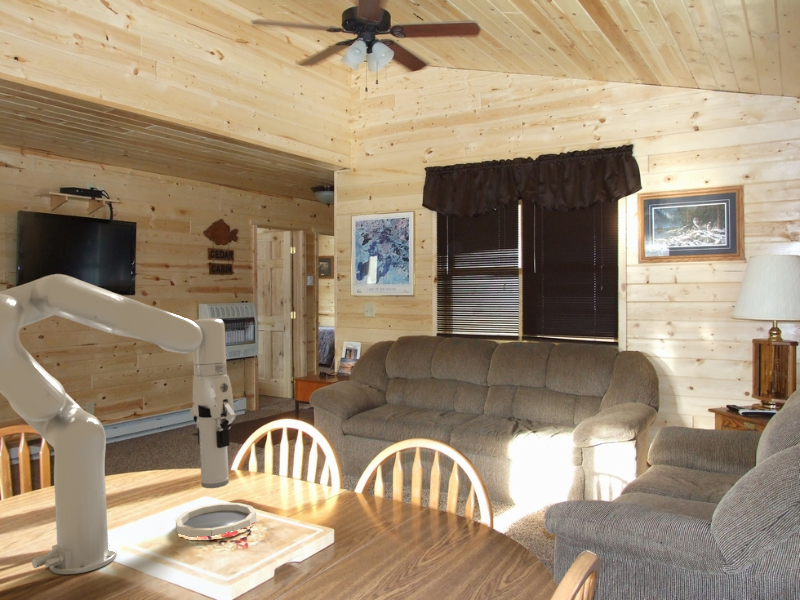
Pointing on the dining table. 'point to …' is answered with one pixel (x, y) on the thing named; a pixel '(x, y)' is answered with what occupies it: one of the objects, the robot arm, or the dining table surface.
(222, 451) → the travel mug
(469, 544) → the dining table surface
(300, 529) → the dining table surface
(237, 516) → the round tray
